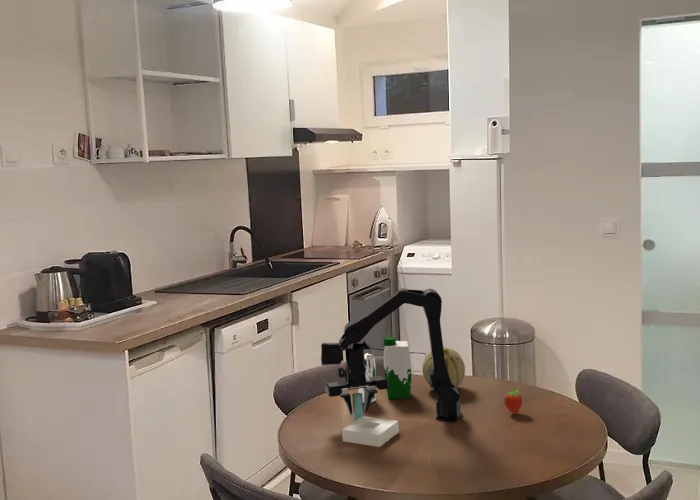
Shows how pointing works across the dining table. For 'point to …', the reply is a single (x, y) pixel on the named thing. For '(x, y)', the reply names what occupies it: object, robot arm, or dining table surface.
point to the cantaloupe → (447, 366)
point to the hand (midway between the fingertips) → (358, 413)
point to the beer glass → (369, 372)
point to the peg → (357, 405)
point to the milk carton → (397, 368)
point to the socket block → (370, 431)
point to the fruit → (513, 401)
